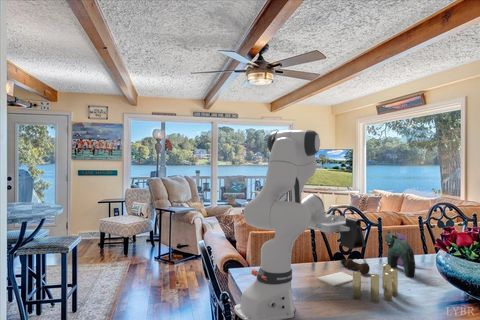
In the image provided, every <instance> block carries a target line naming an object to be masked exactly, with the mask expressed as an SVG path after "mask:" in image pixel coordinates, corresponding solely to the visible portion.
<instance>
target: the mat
mask: <svg viewBox="0 0 480 320" xmlns="http://www.w3.org/2000/svg"><path fill="white" fill-rule="evenodd" d="M316 280H319V281H321V282H323V283H325V284H328V285H329V286H332V287H335V286H339V285H343V284H348V283H350V282H353V275H351V274H349V273H346V272H343V271H338V272H333V273H330V274H326V275H322V276H318V277H316Z"/></svg>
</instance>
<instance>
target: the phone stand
mask: <svg viewBox="0 0 480 320" xmlns="http://www.w3.org/2000/svg"><path fill="white" fill-rule="evenodd" d="M345 218H346V225H345V227H349V228H350V230H349V231H343V234H342V237H341V239H340V244H339V245H340V247H345V248H346V249H350V250H353V249H358V248H359V249H361V248H366V247H367V245H366V241H365V240H366V239H365V237H364V234H363V230H362V225H361V224H362V221H361V220H360V219H358V218H353V217H345Z"/></svg>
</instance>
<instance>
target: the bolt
mask: <svg viewBox="0 0 480 320" xmlns="http://www.w3.org/2000/svg"><path fill="white" fill-rule="evenodd" d="M340 262H341V265H342V266H344V267H345V268H346V269H354V270H355V271H356V270H357V271H358V272H361V275H367V274H369V272H370V265H369V263H367V262H362V263H359V262H355V261H354V260H353V259H352V258H348V259H346V258H343V259H341V261H340Z"/></svg>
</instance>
